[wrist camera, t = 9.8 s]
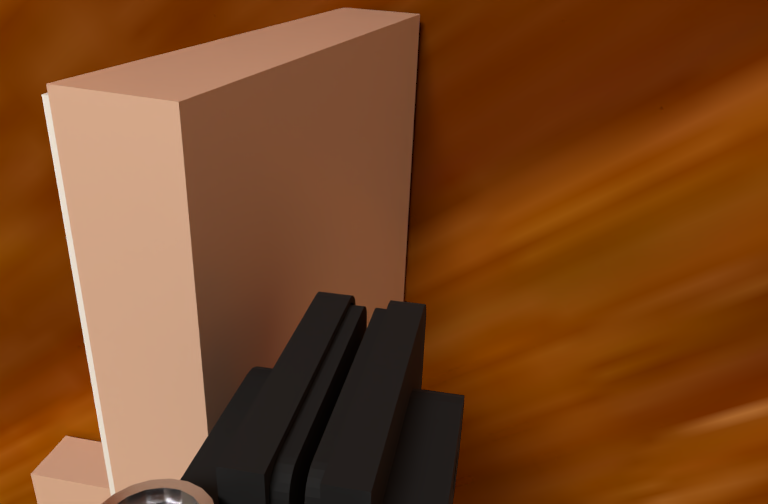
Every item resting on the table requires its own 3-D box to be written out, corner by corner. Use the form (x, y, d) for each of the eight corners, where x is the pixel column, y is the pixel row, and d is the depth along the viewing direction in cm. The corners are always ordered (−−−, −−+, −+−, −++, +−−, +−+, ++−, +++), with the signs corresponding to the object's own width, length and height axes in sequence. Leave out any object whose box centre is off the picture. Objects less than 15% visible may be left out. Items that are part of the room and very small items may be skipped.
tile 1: (329, 6, 16) (22, 80, 8) (420, 14, 15) (179, 101, 8) (328, 341, 20) (117, 602, 12) (400, 357, 19) (226, 645, 12)
